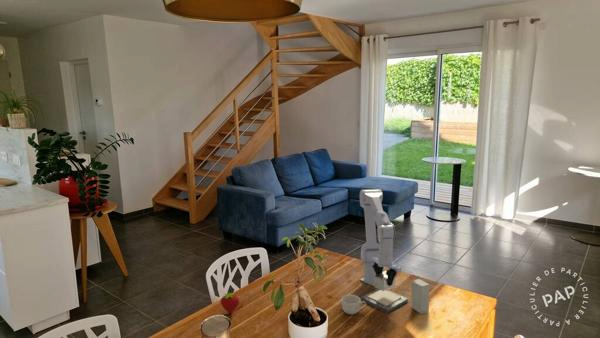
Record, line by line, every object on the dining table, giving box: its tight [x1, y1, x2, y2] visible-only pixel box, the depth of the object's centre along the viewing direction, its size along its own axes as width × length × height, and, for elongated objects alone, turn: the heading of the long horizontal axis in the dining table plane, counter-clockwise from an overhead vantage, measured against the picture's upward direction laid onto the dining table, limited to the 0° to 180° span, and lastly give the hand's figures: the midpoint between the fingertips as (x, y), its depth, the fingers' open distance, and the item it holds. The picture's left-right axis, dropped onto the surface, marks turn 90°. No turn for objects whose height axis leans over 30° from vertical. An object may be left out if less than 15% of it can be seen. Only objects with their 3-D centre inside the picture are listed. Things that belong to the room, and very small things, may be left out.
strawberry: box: [220, 292, 240, 314], centre depth 157 cm, size 6×8×10 cm
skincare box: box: [411, 278, 430, 315], centre depth 158 cm, size 6×4×12 cm
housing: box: [373, 270, 397, 291], centre depth 165 cm, size 5×8×6 cm, turn 130°
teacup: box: [341, 294, 367, 315], centre depth 158 cm, size 10×8×5 cm
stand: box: [360, 288, 409, 314], centre depth 166 cm, size 14×14×2 cm
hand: (384, 282), depth 165 cm, fingers closed on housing, 5 cm apart
